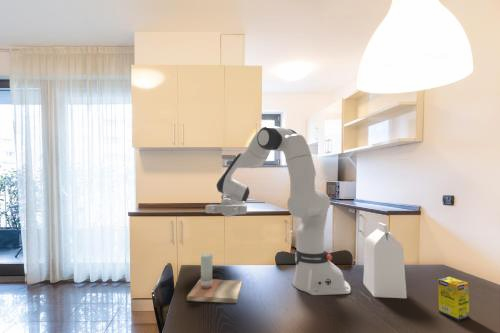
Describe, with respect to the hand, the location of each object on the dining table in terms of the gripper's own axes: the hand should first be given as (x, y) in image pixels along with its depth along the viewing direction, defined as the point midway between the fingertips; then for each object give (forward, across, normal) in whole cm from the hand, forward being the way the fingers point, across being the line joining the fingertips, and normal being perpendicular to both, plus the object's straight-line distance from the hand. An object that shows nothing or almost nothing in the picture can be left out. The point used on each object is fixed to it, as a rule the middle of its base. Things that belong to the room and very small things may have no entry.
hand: (223, 210), depth 121 cm
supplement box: (+28, +81, +30) cm, 91 cm away
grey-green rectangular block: (+19, -3, +27) cm, 33 cm away
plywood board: (+19, +1, +29) cm, 35 cm away
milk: (+11, +66, +30) cm, 73 cm away
